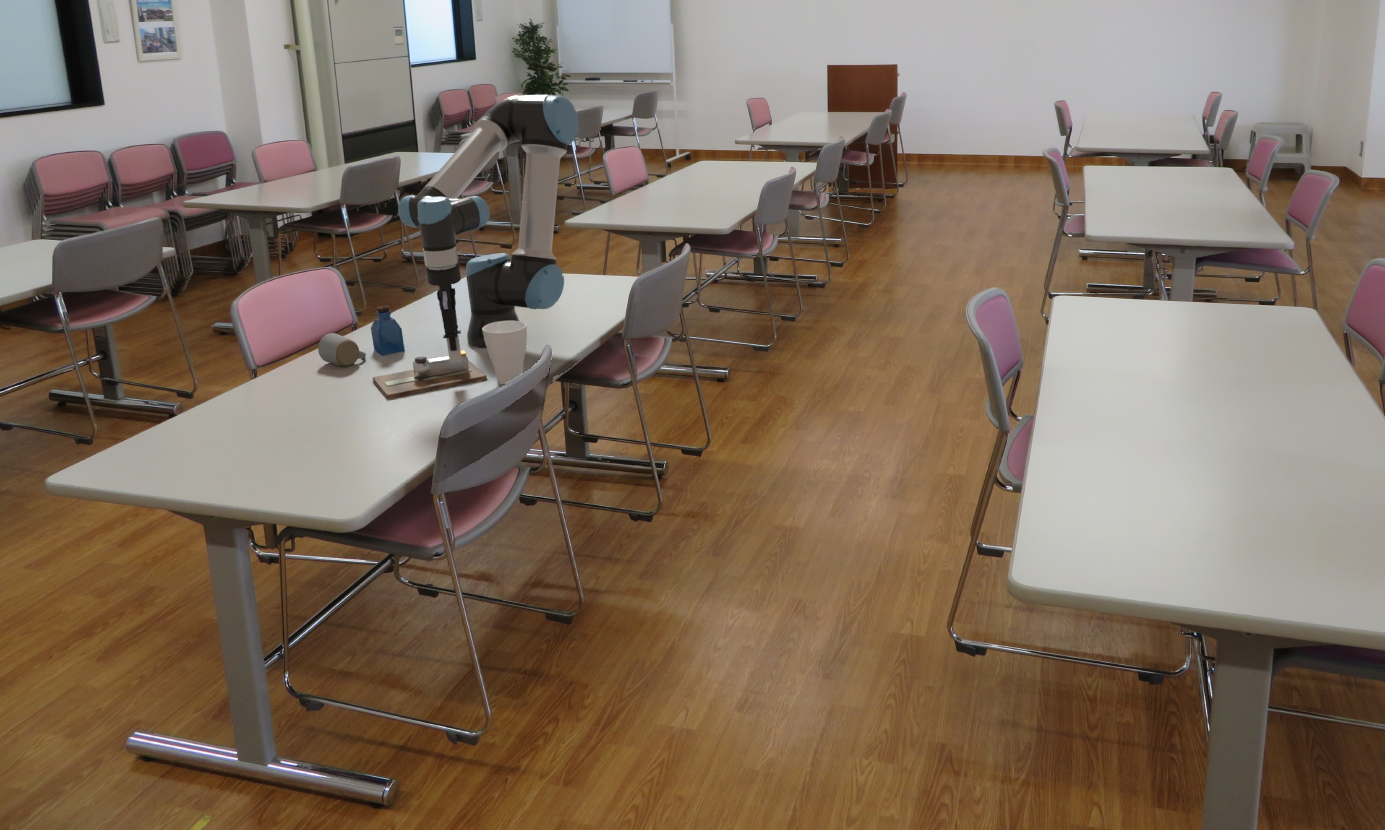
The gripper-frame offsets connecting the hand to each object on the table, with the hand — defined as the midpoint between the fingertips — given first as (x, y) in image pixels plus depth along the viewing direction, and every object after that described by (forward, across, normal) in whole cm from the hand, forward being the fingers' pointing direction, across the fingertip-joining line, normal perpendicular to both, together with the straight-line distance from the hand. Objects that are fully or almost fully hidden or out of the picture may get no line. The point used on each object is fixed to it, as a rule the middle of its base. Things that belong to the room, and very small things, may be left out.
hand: (455, 361), depth 254 cm
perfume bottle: (+6, +31, +20) cm, 37 cm away
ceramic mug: (+6, +24, +30) cm, 39 cm away
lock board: (+5, +3, +7) cm, 9 cm away
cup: (+6, -2, -12) cm, 14 cm away
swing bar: (+4, +4, +4) cm, 7 cm away
